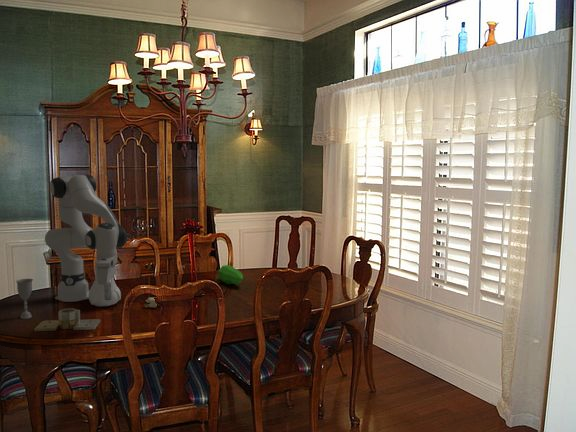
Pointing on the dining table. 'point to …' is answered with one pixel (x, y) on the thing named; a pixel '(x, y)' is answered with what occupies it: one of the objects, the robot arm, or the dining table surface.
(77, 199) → the robot arm
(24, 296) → the chalice
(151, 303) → the cat figure
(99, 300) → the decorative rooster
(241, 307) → the dining table surface
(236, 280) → the green ridged rounded cylinder
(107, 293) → the pin
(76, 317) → the hinge
